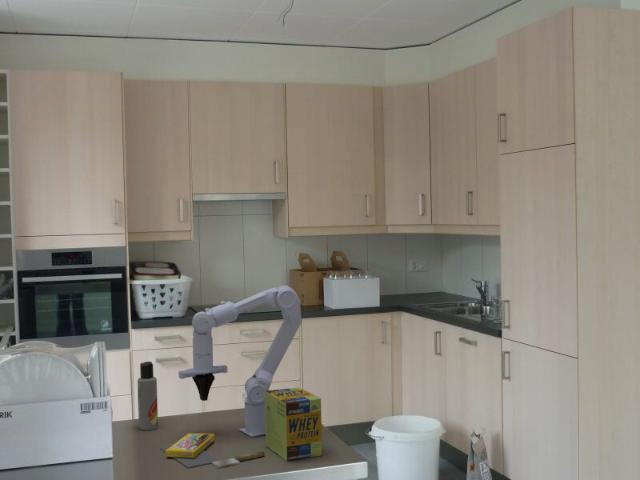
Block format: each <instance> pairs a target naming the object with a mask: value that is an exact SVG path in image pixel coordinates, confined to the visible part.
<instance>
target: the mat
mask: <svg viewBox="0 0 640 480" xmlns="http://www.w3.org/2000/svg"><path fill="white" fill-rule="evenodd" d="M173 445H174V444H170V445H165V446H160V447H159V450H161V451H163V452H164V453H165V454H166V452H165V451H166V450H167V449H169V448H170V447H171V446H173ZM171 458H173V459H174V460H175V461H176V462H178V463H180V464H181V465H183V467H185V468H187V469H192V468H196V467H201V466H206V465H211V464H212V462H216V461H220V459H218V458H217V457H216V456H213V454H210V453H208V452H207V451H205V449H204V450H203V451H202V452H201V453H199V454H198V455H197V456H196V457H195V458H182V457H171ZM212 465H213V464H212Z"/></svg>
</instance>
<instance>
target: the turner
mask: <svg viewBox="0 0 640 480" xmlns="http://www.w3.org/2000/svg"><path fill="white" fill-rule="evenodd" d="M261 457H265V451H264V450H261V451H260V450H259V451H255V452H252V453H246V454H245V453H244V454H241V455H237V456H235V457H231V458H227V459H226V458H225V459H221V460H220V459H219V460H220V461H216V462H212V465H213V466H214V467H216V468H217V469H221V468H222V469H223V468H227V467H231V466H232V467H233V466H236V465H240V464H241V462H242V461H247V460H252V459H256V458H261Z"/></svg>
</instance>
